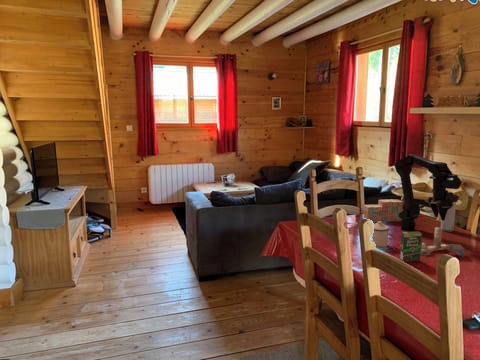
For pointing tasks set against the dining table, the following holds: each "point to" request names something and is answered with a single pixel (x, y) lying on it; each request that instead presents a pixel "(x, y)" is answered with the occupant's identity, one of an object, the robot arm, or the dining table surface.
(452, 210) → the travel mug
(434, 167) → the robot arm
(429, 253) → the pintle
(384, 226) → the teacup with lid
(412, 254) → the coffee box
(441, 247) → the link
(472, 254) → the dining table surface
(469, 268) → the dining table surface
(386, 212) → the stack of blocks
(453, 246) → the keeper
